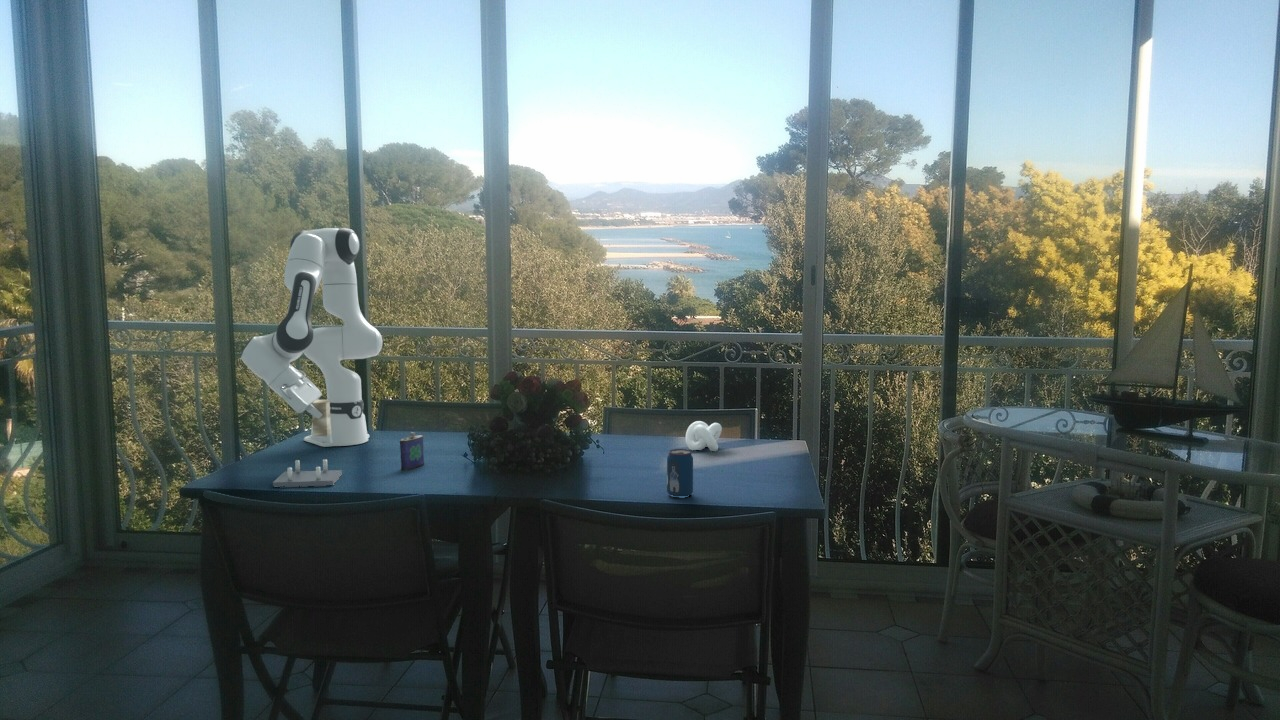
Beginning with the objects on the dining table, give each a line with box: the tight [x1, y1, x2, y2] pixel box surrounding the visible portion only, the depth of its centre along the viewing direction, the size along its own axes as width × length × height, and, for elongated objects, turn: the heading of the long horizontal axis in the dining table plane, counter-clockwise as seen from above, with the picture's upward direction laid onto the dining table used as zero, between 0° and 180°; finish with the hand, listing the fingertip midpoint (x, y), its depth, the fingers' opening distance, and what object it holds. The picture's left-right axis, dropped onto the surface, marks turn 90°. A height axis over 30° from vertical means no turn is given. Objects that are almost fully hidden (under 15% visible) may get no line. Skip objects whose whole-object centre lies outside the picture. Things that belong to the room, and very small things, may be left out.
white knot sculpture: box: [685, 420, 723, 452], centre depth 299 cm, size 11×12×9 cm
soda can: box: [666, 448, 694, 496], centre depth 245 cm, size 7×7×12 cm
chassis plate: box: [272, 459, 343, 488], centre depth 260 cm, size 16×12×5 cm
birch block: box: [311, 399, 331, 436], centre depth 275 cm, size 4×5×10 cm
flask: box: [399, 431, 425, 471], centre depth 276 cm, size 9×3×11 cm, turn 152°
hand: (323, 414), depth 275 cm, fingers closed on birch block, 5 cm apart
